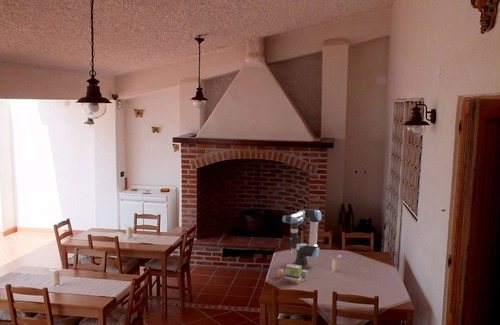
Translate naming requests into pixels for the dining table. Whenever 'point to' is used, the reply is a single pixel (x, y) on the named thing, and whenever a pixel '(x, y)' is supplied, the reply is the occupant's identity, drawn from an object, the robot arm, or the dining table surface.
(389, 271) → the dining table surface
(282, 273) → the terracotta jar
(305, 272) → the slate block
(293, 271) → the tea box
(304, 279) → the slatted wooden board
